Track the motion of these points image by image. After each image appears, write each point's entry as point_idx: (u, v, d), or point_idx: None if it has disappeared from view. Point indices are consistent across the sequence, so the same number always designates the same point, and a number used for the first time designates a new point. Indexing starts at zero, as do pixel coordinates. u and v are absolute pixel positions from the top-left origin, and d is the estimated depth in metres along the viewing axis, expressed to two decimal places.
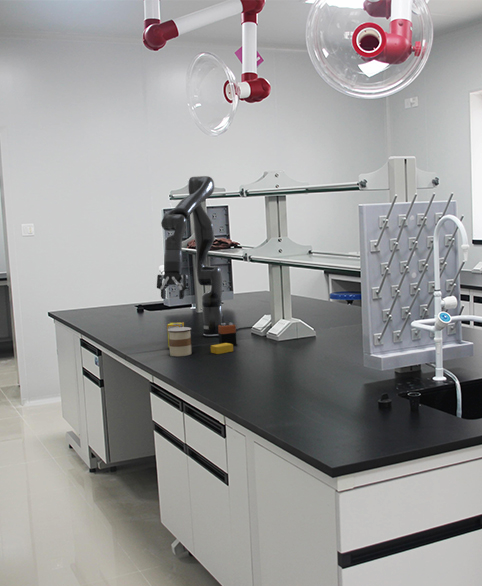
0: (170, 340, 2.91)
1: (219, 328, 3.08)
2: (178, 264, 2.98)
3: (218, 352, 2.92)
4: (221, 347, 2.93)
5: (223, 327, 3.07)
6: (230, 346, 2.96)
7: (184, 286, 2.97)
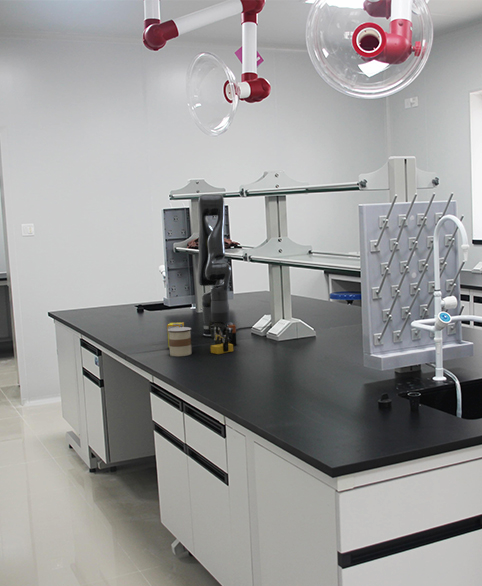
0: (170, 340, 2.91)
1: None
2: (222, 315, 2.91)
3: (218, 352, 2.92)
4: (221, 347, 2.93)
5: None
6: (230, 346, 2.96)
7: (225, 339, 2.91)
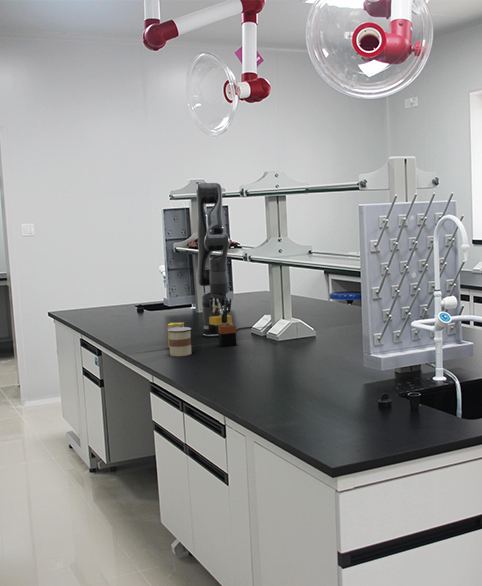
0: (170, 340, 2.91)
1: (219, 328, 3.08)
2: (220, 286, 2.90)
3: (217, 323, 2.91)
4: (220, 318, 2.92)
5: (223, 327, 3.07)
6: (228, 318, 2.95)
7: (224, 311, 2.90)
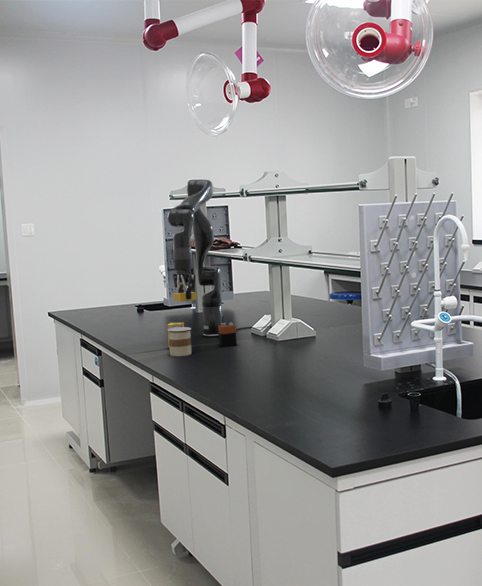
0: (170, 340, 2.91)
1: (219, 328, 3.08)
2: (184, 262, 2.87)
3: (181, 300, 2.88)
4: (184, 295, 2.89)
5: (223, 327, 3.07)
6: (193, 294, 2.92)
7: (188, 287, 2.87)
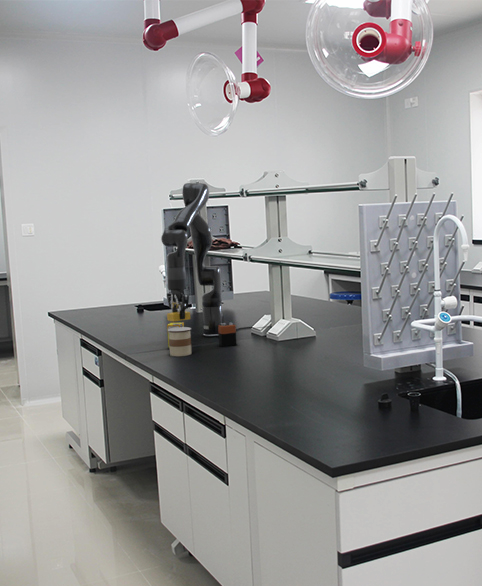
0: (170, 340, 2.91)
1: (219, 328, 3.08)
2: (178, 282, 2.87)
3: (174, 319, 2.89)
4: (177, 314, 2.89)
5: (223, 327, 3.07)
6: (187, 314, 2.92)
7: (182, 307, 2.88)
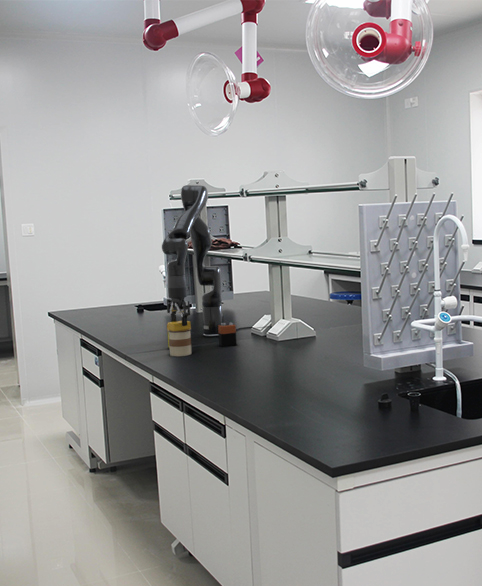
0: (170, 340, 2.91)
1: (219, 328, 3.08)
2: (178, 290, 2.88)
3: (175, 329, 2.89)
4: (178, 324, 2.90)
5: (223, 327, 3.07)
6: (187, 323, 2.93)
7: (184, 313, 2.87)
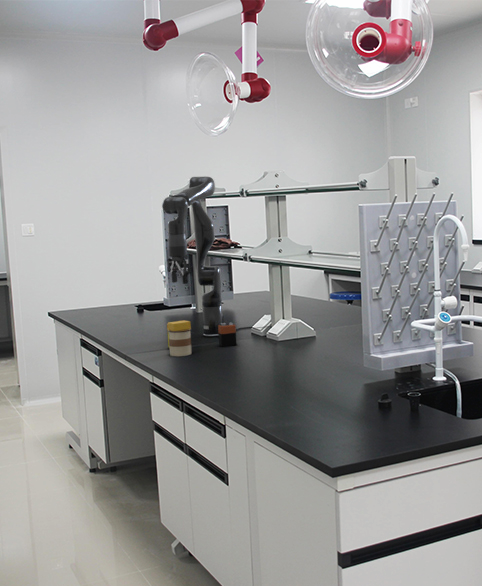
0: (170, 340, 2.91)
1: (219, 328, 3.08)
2: (179, 249, 2.93)
3: (175, 329, 2.89)
4: (178, 324, 2.90)
5: (223, 327, 3.07)
6: (187, 323, 2.93)
7: (184, 271, 2.92)
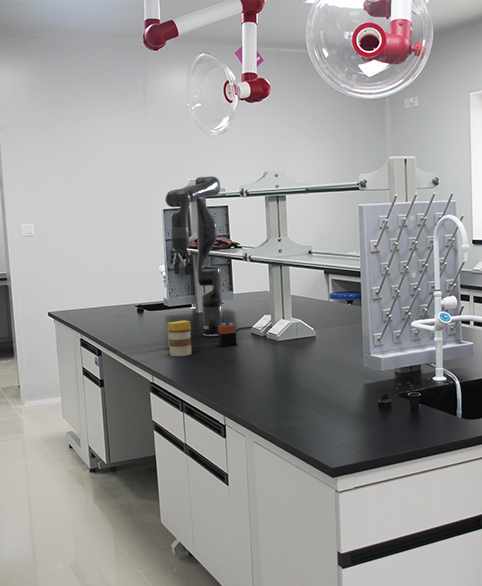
0: (170, 340, 2.91)
1: (219, 328, 3.08)
2: (181, 241, 3.01)
3: (175, 329, 2.89)
4: (178, 324, 2.90)
5: (223, 327, 3.07)
6: (187, 323, 2.93)
7: (187, 262, 3.00)
